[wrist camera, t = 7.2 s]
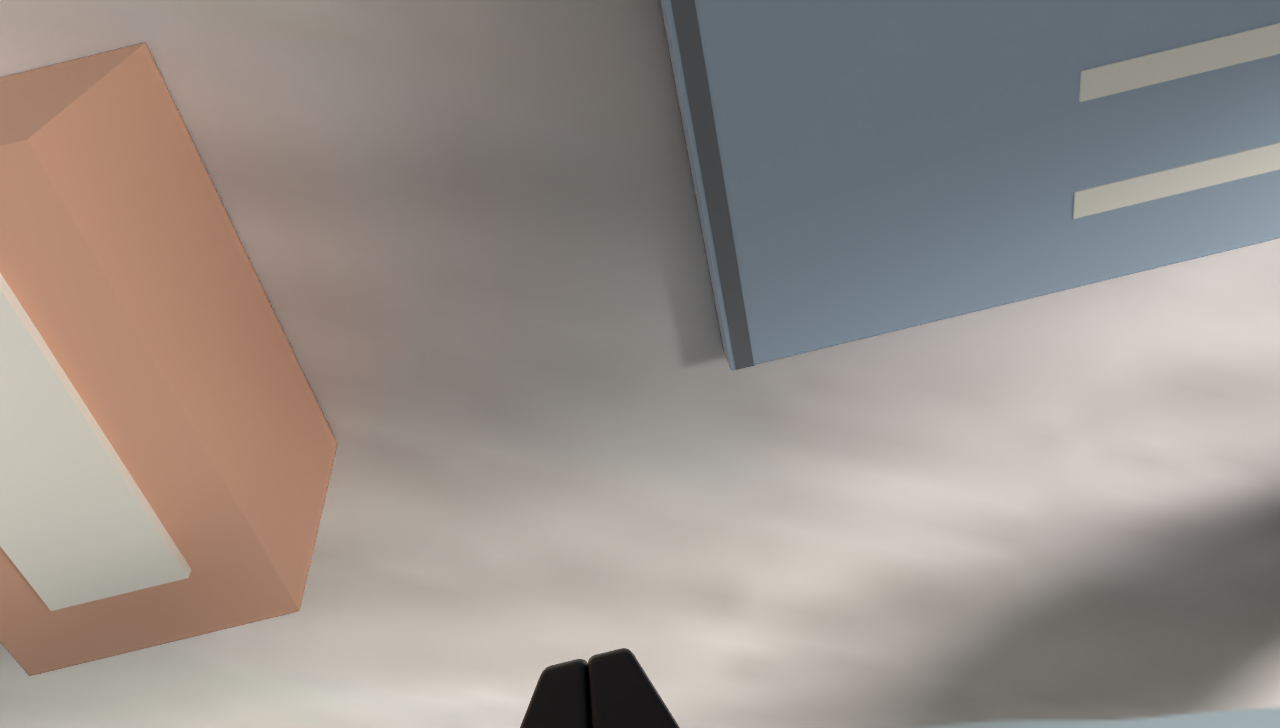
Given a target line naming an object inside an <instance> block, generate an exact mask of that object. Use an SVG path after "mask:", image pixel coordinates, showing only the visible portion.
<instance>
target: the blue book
mask: <svg viewBox="0 0 1280 728" xmlns="http://www.w3.org/2000/svg"><path fill="white" fill-rule="evenodd" d="M660 3H661V8H662V13H663V19H664V24H665V30H666V35H667V41H668V46H669V52H670V57H671V63H672V68H673V74H674V79H675V85H676V90H677V96H678V101H679V107H680V112H681V118H682V123H683V129H684V134H685V139H686V145H687V150H688V156H689V161H690V167H691V172H692V178H693V183H694V189H695V194H696V200H697V205H698V211H699V216H700V222H701V227H702V233H703V238H704V244H705V249H706V255H707V260H708V265H709V271H710V276H711V282H712V287H713V293H714V298H715V304H716V309H717V315H718V320H719V326H720V331H721V337H722V342H723V348H724V352H725V355H726V357H727V360H728V362H729V365H730V368H731V370H735V369H736V370H737V369H741V368H745V367H750V366H754V365H756V364H760V363H764V362H768V361H772V360H776V359H780V358H785V357H789V356H793V355H797V354H801V353H805V352H810V351H814V350H818V349H822V348H826V347H830V346H834V345H839V344H843V343H847V342H851V341H855V340H859V339H863V338H868V337H872V336H876V335H880V334H884V333H888V332H892V331H897V330H901V329H905V328H909V327H913V326H917V325H922V324H926V323H930V322H934V321H938V320H942V319H946V318H951V317H955V316H959V315H963V314H967V313H971V312H975V311H980V310H984V309H988V308H992V307H996V306H1000V305H1004V304H1009V303H1013V302H1017V301H1021V300H1025V299H1029V298H1034V297H1038V296H1042V295H1046V294H1050V293H1054V292H1058V291H1063V290H1067V289H1071V288H1075V287H1079V286H1083V285H1087V284H1092V283H1096V282H1100V281H1104V280H1108V279H1112V278H1117V277H1121V276H1125V275H1129V274H1133V273H1137V272H1141V271H1146V270H1150V269H1154V268H1158V267H1162V266H1166V265H1170V264H1175V263H1179V262H1183V261H1187V260H1191V259H1195V258H1199V257H1204V256H1208V255H1212V254H1216V253H1220V252H1224V251H1229V250H1233V249H1237V248H1241V247H1245V246H1249V245H1253V244H1258V243H1262V242H1266V241H1270V240H1274V239H1278V238H1280V0H660Z"/></svg>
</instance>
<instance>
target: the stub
mask: <svg viewBox="0 0 1280 728" xmlns="http://www.w3.org/2000/svg"><path fill="white" fill-rule="evenodd" d="M336 448H337V442H336V440H335V438H334V436H333V434H332V432H331V430H330V428H329V426H328V424H327V421H326V419H325V417H324V415H323V413H322V411H321V409H320V407H319V405H318V403H317V401H316V398H315V396H314V394H313V392H312V390H311V388H310V386H309V384H308V382H307V380H306V378H305V375H304V373H303V371H302V369H301V367H300V365H299V363H298V361H297V359H296V357H295V355H294V352H293V350H292V348H291V346H290V344H289V342H288V340H287V338H286V336H285V334H284V332H283V329H282V327H281V325H280V323H279V321H278V319H277V317H276V315H275V313H274V311H273V309H272V306H271V304H270V302H269V300H268V298H267V296H266V294H265V292H264V290H263V288H262V286H261V283H260V281H259V279H258V277H257V275H256V273H255V271H254V269H253V267H252V265H251V263H250V260H249V258H248V256H247V254H246V252H245V250H244V248H243V246H242V244H241V242H240V240H239V237H238V235H237V233H236V231H235V229H234V227H233V225H232V223H231V221H230V219H229V217H228V214H227V212H226V210H225V208H224V206H223V204H222V202H221V200H220V198H219V196H218V194H217V191H216V189H215V187H214V185H213V183H212V181H211V179H210V177H209V175H208V173H207V171H206V168H205V166H204V164H203V162H202V160H201V158H200V156H199V154H198V152H197V150H196V148H195V145H194V143H193V141H192V139H191V137H190V135H189V133H188V131H187V129H186V127H185V125H184V122H183V120H182V118H181V116H180V114H179V112H178V110H177V108H176V106H175V104H174V102H173V99H172V97H171V95H170V93H169V91H168V89H167V87H166V85H165V83H164V81H163V78H162V76H161V74H160V72H159V70H158V68H157V66H156V64H155V62H154V60H153V58H152V55H151V53H150V51H149V49H148V47H147V45H146V43H141V44H137V45H133V46H129V47H124V48H120V49H116V50H112V51H108V52H104V53H100V54H96V55H91V56H87V57H83V58H79V59H75V60H71V61H67V62H62V63H58V64H54V65H50V66H46V67H42V68H38V69H34V70H29V71H25V72H21V73H17V74H13V75H9V76H5V77H0V642H1V643H2V645H3V646H4V647H5V648H6V649H7V650H8V652H9V653H10V654H11V655H12V656H13V658H14V659H15V660H16V661H17V662H18V663H19V665H20V666H21V667H22V668H23V669H24V670H25V672H26V673H27V674H28V675H29V676H32V675H36V674H40V673H44V672H48V671H53V670H57V669H61V668H65V667H69V666H73V665H78V664H82V663H86V662H90V661H94V660H98V659H102V658H107V657H111V656H115V655H119V654H123V653H127V652H131V651H136V650H140V649H144V648H148V647H152V646H156V645H161V644H165V643H169V642H173V641H177V640H181V639H185V638H190V637H194V636H198V635H202V634H206V633H210V632H215V631H219V630H223V629H227V628H231V627H235V626H239V625H244V624H248V623H252V622H256V621H260V620H264V619H269V618H273V617H277V616H281V615H285V614H289V613H293V612H298V611H300V606H301V602H302V597H303V593H304V589H305V584H306V580H307V576H308V571H309V567H310V562H311V558H312V554H313V549H314V545H315V540H316V536H317V532H318V527H319V523H320V519H321V514H322V510H323V505H324V501H325V497H326V492H327V488H328V483H329V479H330V475H331V470H332V466H333V462H334V457H335V453H336Z"/></svg>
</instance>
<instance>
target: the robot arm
mask: <svg viewBox="0 0 1280 728" xmlns="http://www.w3.org/2000/svg"><path fill="white" fill-rule="evenodd" d="M520 728H680V727H679V726H678V724H677V723H676V721H675V719H674V718H673V716H672V715H671V713H670V711H669V710H668V708H667V707H666V705H665V704H664V702H663V700H662V699H661V697H660V696H659V694H658V692H657V691H656V689H655V688H654V686H653V684H652V683H651V681H650V680H649V678H648V677H647V675H646V673H645V672H644V670H643V669H642V667H641V665H640V664H639V662H638V661H637V659H636V658H635V656H634V654H633V653H632V652H631V651H630V650H629V649H626V648H622V649H618V650H614V651H609V652H605V653H601V654H597V655H594V656H592V657H591V658H590V659H589V661H588V663H587V662H586V661H585V660H583V659H576V660H572V661H568V662H564V663H560V664H556V665H552V666H549V667H547V668H546V669H545V670H544V671H543V672H542V674H541V676H540V678H539V680H538V683H537V686H536V688H535V691H534V693H533V696H532V698H531V701H530V704H529V706H528V709H527V711H526V714H525V716H524V719H523V722H522V724H521V727H520Z"/></svg>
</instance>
